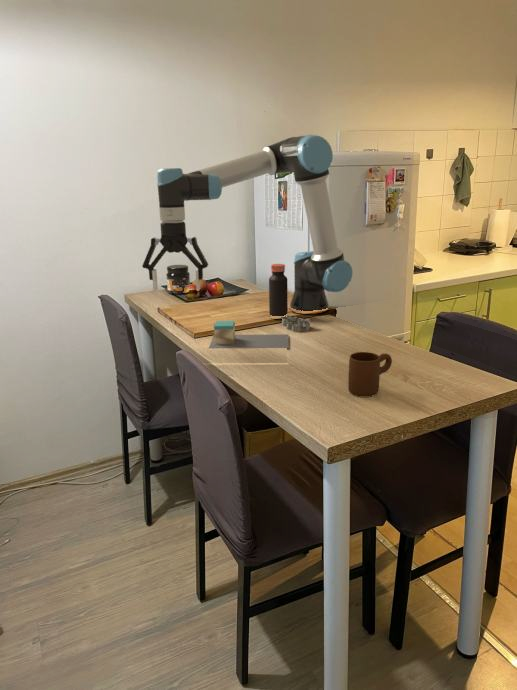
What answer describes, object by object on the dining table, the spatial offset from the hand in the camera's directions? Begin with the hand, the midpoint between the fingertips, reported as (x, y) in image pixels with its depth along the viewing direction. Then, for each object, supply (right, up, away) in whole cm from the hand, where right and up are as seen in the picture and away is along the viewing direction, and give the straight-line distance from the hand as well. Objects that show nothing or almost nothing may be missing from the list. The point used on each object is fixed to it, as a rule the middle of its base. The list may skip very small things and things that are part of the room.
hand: (177, 290), depth 172 cm
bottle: (+33, -7, +33) cm, 47 cm away
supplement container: (-11, +7, +78) cm, 79 cm away
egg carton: (+39, -12, +20) cm, 45 cm away
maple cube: (+15, -16, +5) cm, 22 cm away
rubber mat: (+23, -17, +5) cm, 29 cm away
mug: (+54, -29, -34) cm, 70 cm away
